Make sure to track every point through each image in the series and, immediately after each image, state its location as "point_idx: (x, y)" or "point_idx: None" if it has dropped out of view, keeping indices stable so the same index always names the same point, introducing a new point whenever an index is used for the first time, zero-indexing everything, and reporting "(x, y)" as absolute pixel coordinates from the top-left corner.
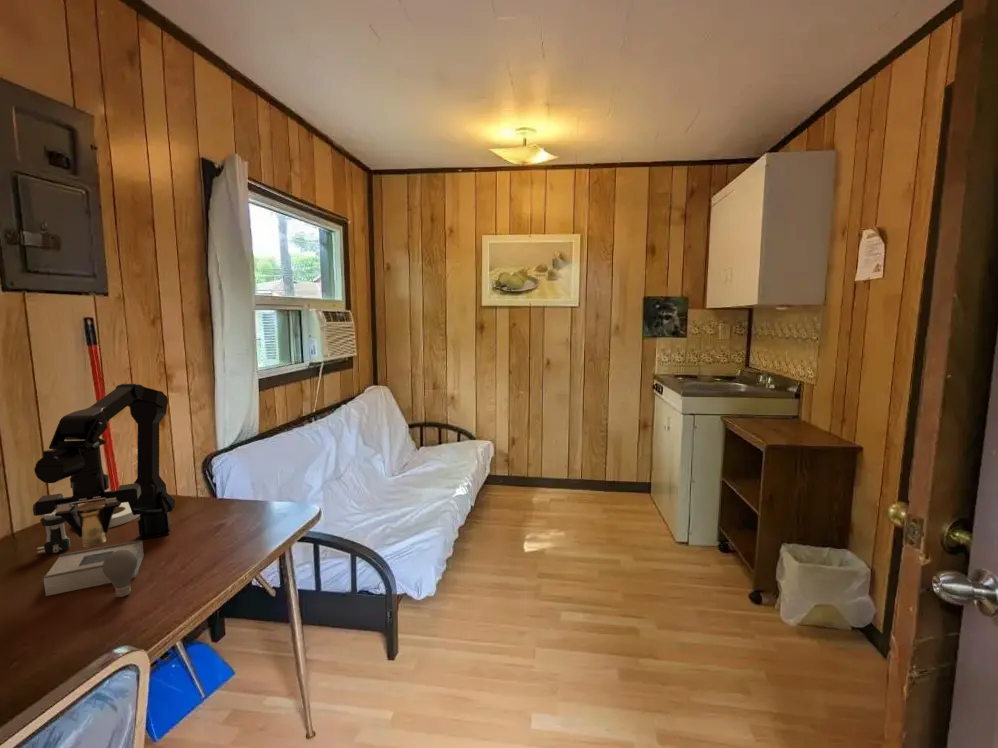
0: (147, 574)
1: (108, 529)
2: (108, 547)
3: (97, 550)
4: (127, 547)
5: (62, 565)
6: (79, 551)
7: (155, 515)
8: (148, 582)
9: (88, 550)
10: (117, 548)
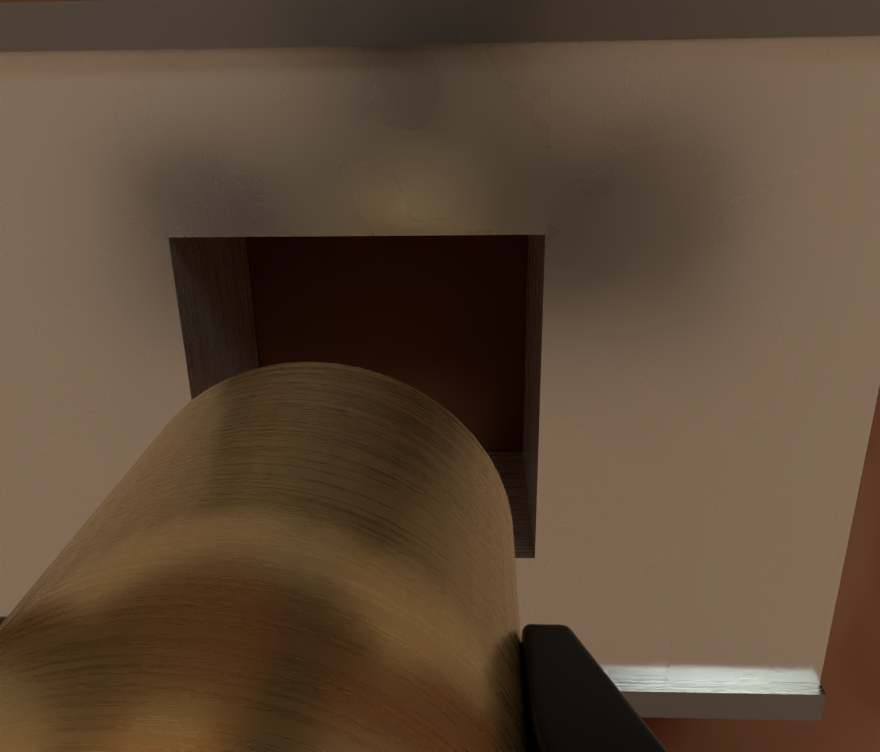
0: (848, 559)
1: (580, 644)
2: (440, 48)
3: (291, 83)
4: (731, 203)
5: (2, 434)
6: (18, 30)
7: None
8: (848, 713)
9: (151, 46)
10: (586, 160)
